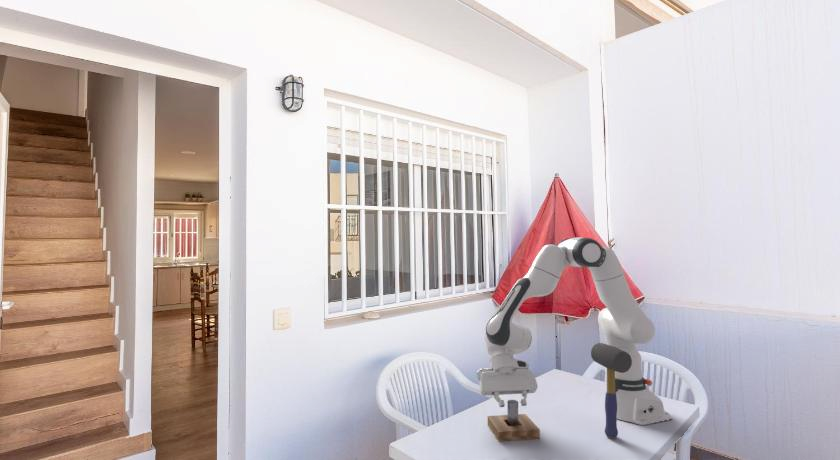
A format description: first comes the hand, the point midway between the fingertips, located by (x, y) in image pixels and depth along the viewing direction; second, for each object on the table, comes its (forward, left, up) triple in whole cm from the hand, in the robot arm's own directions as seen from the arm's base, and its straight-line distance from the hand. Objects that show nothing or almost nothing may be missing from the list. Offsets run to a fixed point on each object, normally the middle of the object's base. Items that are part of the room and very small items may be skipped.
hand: (513, 405), depth 138 cm
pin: (0, -1, -9) cm, 9 cm away
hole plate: (0, -1, -9) cm, 9 cm away
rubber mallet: (-31, +7, -9) cm, 33 cm away
